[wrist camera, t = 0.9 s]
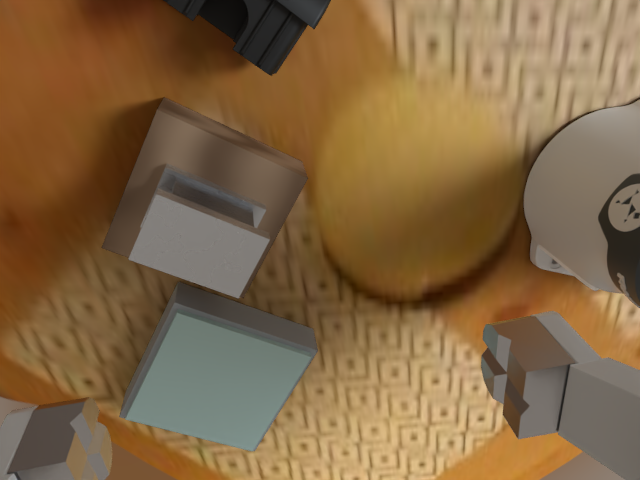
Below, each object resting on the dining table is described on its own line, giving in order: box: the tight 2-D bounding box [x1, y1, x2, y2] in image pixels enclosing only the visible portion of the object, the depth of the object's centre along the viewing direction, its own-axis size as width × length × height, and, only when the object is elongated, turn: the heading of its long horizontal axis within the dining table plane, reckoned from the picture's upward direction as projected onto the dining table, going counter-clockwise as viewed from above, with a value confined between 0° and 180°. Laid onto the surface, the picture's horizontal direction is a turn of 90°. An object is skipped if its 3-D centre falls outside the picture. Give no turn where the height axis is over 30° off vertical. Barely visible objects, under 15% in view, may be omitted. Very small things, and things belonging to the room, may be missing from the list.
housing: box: [128, 163, 270, 299], centre depth 38 cm, size 8×5×6 cm, turn 62°
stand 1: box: [102, 97, 308, 298], centre depth 43 cm, size 12×12×4 cm
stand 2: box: [119, 282, 318, 451], centre depth 51 cm, size 14×14×4 cm
